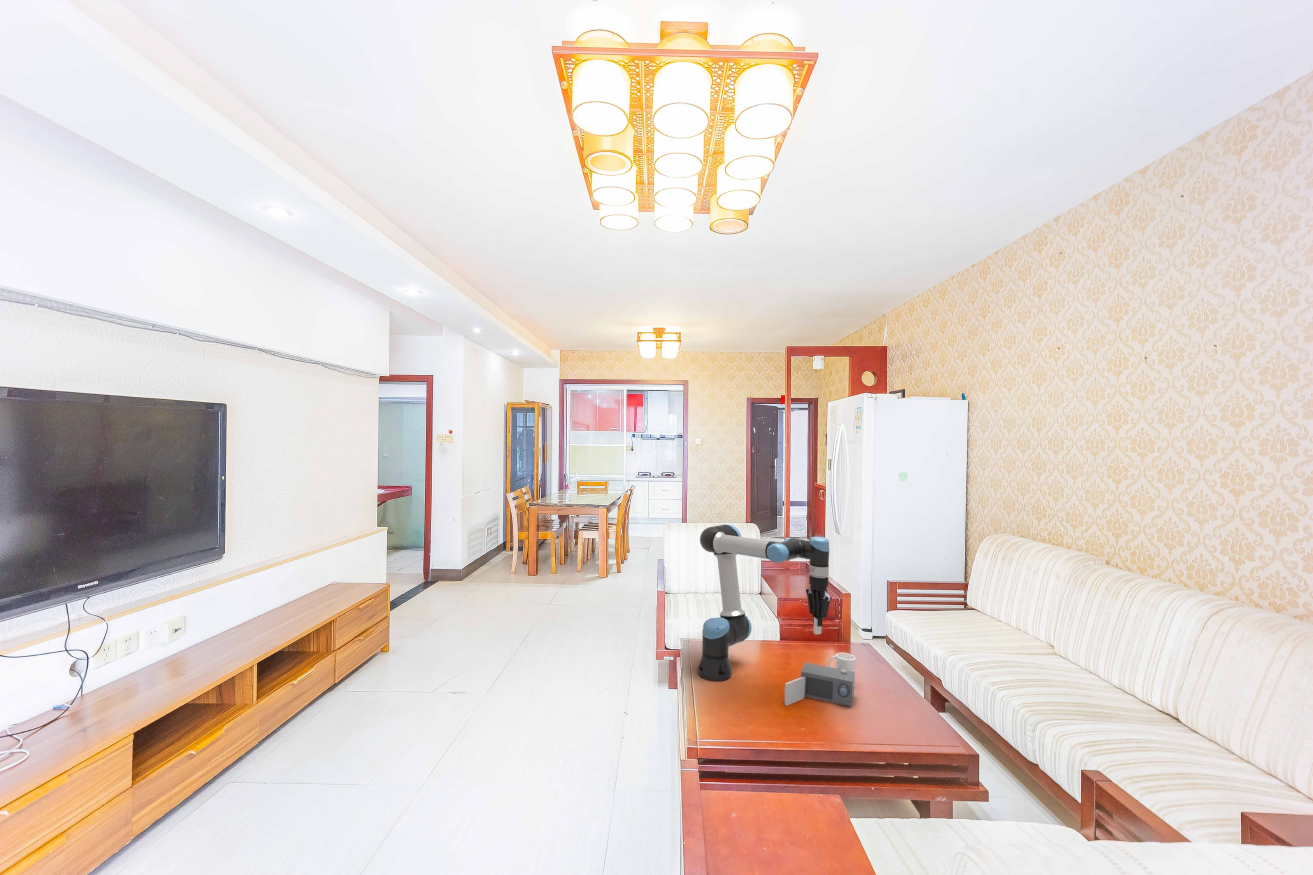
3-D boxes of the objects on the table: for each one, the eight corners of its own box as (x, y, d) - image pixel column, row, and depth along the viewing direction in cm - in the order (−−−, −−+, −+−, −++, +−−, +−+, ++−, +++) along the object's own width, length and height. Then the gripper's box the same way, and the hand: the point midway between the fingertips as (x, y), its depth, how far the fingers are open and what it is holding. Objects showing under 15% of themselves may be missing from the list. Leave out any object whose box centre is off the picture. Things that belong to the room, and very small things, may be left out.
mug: (824, 680, 236) (824, 652, 236) (834, 674, 242) (834, 648, 242) (849, 690, 227) (849, 661, 227) (859, 684, 233) (859, 656, 233)
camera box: (799, 697, 219) (800, 670, 219) (804, 685, 230) (805, 659, 230) (851, 708, 211) (852, 681, 211) (854, 696, 222) (854, 669, 222)
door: (801, 695, 221) (802, 674, 221) (805, 697, 219) (806, 676, 219) (782, 703, 214) (783, 682, 214) (786, 705, 212) (787, 684, 212)
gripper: (800, 572, 224) (799, 629, 224) (823, 580, 212) (821, 640, 212) (814, 571, 227) (813, 626, 227) (837, 578, 215) (836, 637, 215)
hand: (817, 633), depth 219 cm, fingers closed
